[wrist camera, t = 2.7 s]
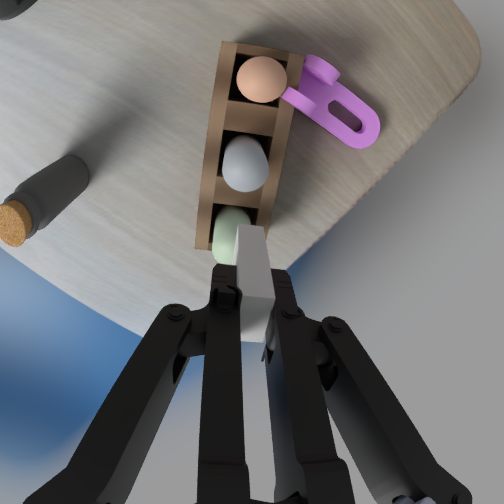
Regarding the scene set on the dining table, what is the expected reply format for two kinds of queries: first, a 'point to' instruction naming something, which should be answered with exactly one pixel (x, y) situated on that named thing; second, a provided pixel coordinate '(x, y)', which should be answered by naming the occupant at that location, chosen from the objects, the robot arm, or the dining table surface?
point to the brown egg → (261, 79)
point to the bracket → (322, 93)
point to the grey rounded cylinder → (245, 164)
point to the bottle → (41, 199)
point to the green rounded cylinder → (227, 231)
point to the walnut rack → (250, 121)
